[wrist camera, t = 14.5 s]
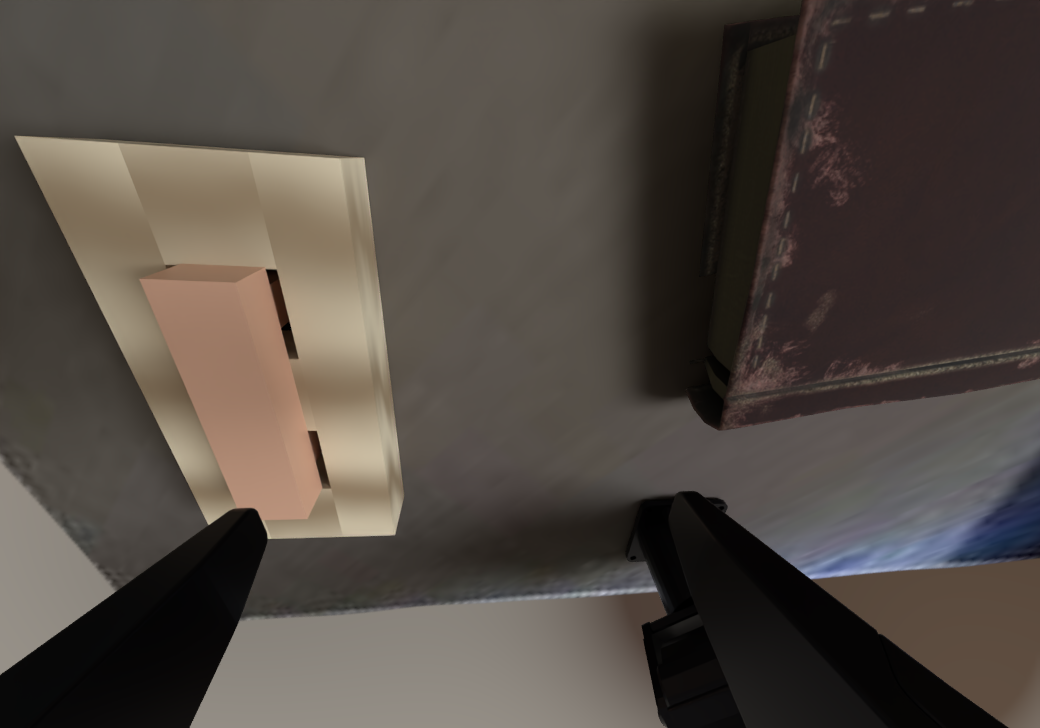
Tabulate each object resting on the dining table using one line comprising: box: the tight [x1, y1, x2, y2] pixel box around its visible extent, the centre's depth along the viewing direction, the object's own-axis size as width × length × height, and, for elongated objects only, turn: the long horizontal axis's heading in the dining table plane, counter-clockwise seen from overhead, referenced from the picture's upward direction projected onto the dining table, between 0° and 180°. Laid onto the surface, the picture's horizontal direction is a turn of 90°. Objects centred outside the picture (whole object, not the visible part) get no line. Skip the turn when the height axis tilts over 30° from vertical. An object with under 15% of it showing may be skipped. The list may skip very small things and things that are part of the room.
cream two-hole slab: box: [15, 136, 404, 539], centre depth 19 cm, size 20×10×3 cm, turn 176°
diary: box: [686, 0, 1040, 430], centre depth 17 cm, size 19×25×5 cm
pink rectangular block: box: [139, 264, 322, 520], centre depth 18 cm, size 12×3×5 cm, turn 176°
